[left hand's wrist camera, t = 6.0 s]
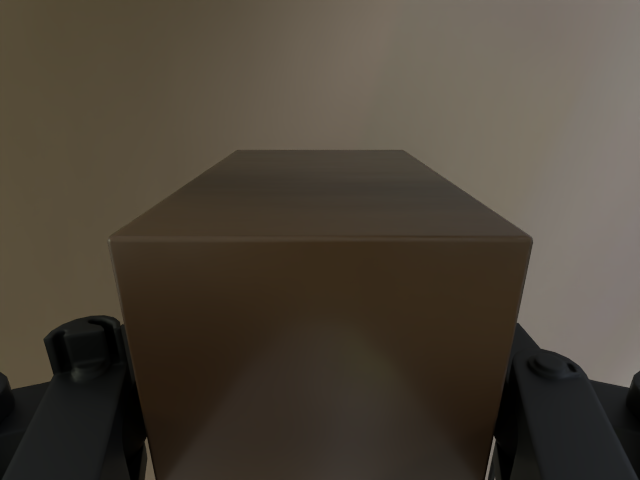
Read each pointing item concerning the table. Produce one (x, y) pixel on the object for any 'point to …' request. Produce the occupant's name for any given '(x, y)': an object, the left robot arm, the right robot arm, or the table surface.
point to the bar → (320, 319)
